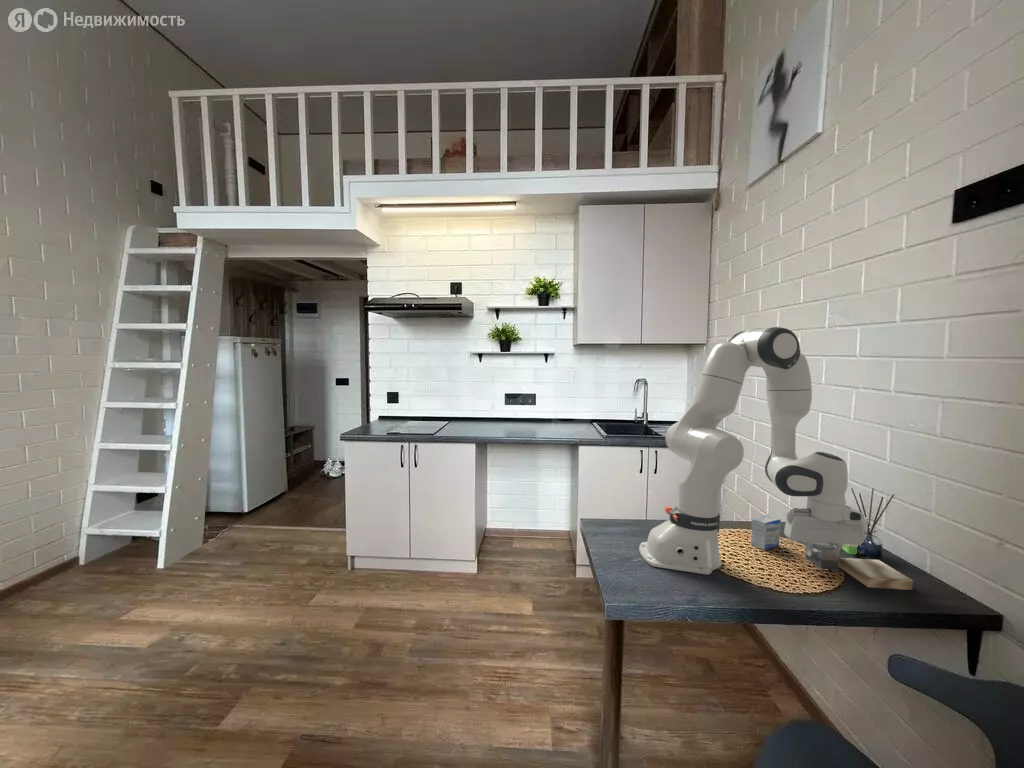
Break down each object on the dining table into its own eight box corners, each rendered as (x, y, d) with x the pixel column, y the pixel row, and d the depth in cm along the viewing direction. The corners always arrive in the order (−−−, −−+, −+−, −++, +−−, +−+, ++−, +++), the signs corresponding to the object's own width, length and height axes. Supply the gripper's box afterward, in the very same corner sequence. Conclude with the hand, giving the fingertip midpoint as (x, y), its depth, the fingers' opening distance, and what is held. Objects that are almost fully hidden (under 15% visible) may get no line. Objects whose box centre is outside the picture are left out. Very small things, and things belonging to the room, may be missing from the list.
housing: (820, 570, 119) (822, 549, 118) (805, 558, 126) (806, 538, 125) (837, 571, 118) (839, 550, 118) (821, 559, 125) (822, 539, 125)
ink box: (866, 556, 128) (869, 518, 128) (848, 554, 129) (851, 516, 128) (848, 543, 137) (851, 508, 136) (831, 542, 138) (834, 507, 137)
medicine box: (763, 550, 130) (766, 523, 129) (750, 544, 134) (751, 518, 133) (779, 546, 134) (781, 519, 133) (765, 540, 137) (767, 514, 137)
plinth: (867, 587, 110) (868, 576, 110) (838, 566, 121) (838, 556, 121) (912, 590, 110) (913, 579, 109) (878, 568, 121) (879, 559, 120)
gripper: (794, 511, 118) (790, 559, 119) (871, 515, 117) (866, 563, 118) (781, 503, 125) (778, 549, 126) (854, 507, 123) (850, 553, 124)
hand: (821, 556), depth 122 cm, fingers closed on housing, 4 cm apart
